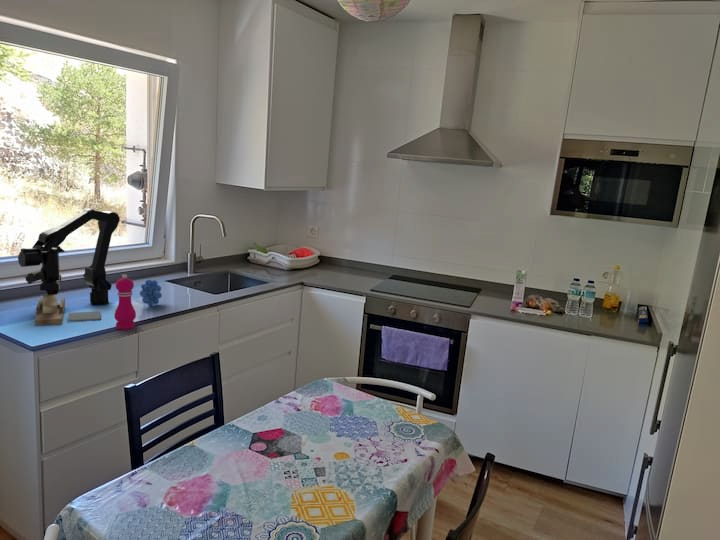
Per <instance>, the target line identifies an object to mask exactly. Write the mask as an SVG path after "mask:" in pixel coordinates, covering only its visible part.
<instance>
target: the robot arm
mask: <svg viewBox="0 0 720 540" xmlns="http://www.w3.org/2000/svg"><path fill="white" fill-rule="evenodd" d="M92 220H95V221H97V225H98V230H99V231H98V237H97V241H96V245H95V250H94V254H93V258H92V261H91V262H92V263H91V265H89V267H84V273H83V276H82V277H83V281H84V282H85V284H86V285H87V287H88V288H89V289H91V291H90V293H89V302H90V304H91V305H92V306H95V305H110V304H109V303H110V300H109V291H110V290H111V289H112V286H113V285H112V283H110V282H109V281H108V280H107V272H106V261H107V256H108V252H109V249H110V244H111V240H112V235H113V233H114V232H115V231H116V229H117V228H118V226H119V224H120V220H121V219H120V215H119V214H118V213H117V212H114V211H109V210H103V211H99V210H95V209H92V208H85V209H83V210H82V211H81V212H79V213H77V214H76V215H74V216H73V217H72V218H70V219H68V220H67V221H65V222H63V223H62V224H60V225H59V226H56V227H52V228H50V229H47V230H44V231H42V232H40V233H39V235H38V239H37V240H36V242H35V243H34V244H33V246H32V247H31V248H30V247H29V248H25V247H22V248H20V252H19V254H18V256H17V262H18V263H19V266H20V267H22V268H23V267H26V268H27V267H34V266H35V267H36V266H40V265H41V268H40V269H39V270H36V271H31V272H30V273H29V272H28V273H27V274H24V275H25V276H24V278H25V281H26V282H27V284H28V285H31V284H33V283H35V282H38V281H40V282H41V283H40V284H39V290H40V291H45V292H46V295H56V294H57V295H58V293H59V291H60V288H61V285H62V284H61V283H60V282H62V280H63V278H62V275H61V274H60V257H59V255H60V254H61V253H65V250H64V249H63V248H62V247H61V246H60V245H61V244H62V243H63V242H64V241H65V240H66V239H67V237H68V236H69V235H70V234H72V233H74V232H75V231H76V230H78V229H80V227H82V226H84V225H86V224H87V223H89V222H90V221H92Z"/></svg>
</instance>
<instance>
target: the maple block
mask: <svg viewBox="0 0 720 540" xmlns="http://www.w3.org/2000/svg"><path fill="white" fill-rule="evenodd" d="M42 298H43V313H57V311H58V303H59V302H58V293H57V294H56V295H48V294H43V295H42Z"/></svg>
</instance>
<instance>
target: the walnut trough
mask: <svg viewBox="0 0 720 540" xmlns="http://www.w3.org/2000/svg"><path fill="white" fill-rule="evenodd" d="M57 303H58V311H57V313H43V297H40V298H39V300H38V303H37V305H36V308H35V311H36V315H35V318H34V321H33V322H34V326H35V325H38V326H50V325H52V326H54V325H63V322H64V317H65V316H64V315H65V311H66V297H65V296H61V299H60V302H57Z"/></svg>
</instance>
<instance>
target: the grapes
mask: <svg viewBox="0 0 720 540" xmlns="http://www.w3.org/2000/svg"><path fill="white" fill-rule="evenodd" d="M140 288H141V289H142V290H140V291H139V295H140V297H142V299H141V301H142V303H144V304H146V305H147V306H148V307H153V305H158V304H159V302H160V301H159V300H160V299H161V298H162V296H163V295H162V292H161V291H162V287H161V285H159V283H158V281H157V280H156V279H146V281H145V282H144V283H142V284H141V285H140Z"/></svg>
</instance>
